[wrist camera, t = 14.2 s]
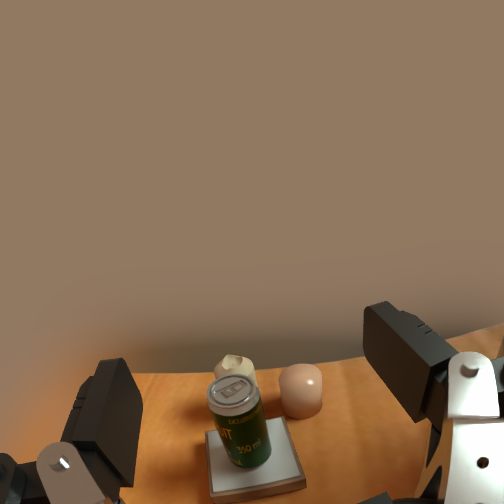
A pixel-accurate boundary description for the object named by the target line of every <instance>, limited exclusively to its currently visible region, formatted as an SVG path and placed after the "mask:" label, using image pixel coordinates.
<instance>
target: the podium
mask: <svg viewBox="0 0 504 504" xmlns="http://www.w3.org/2000/svg"><path fill="white" fill-rule="evenodd" d="M266 424H267V429H268V434H269V438H270V443H271V447H272V451H271V455H270V457H269V459H268V460H267V462H265V463H264V464H263V465H262V466H260V467H258V468H254V469H243V468H240V467H238V466H236V465H234V464H233V463H232V462H231V461H230V459H229V458H228V456H227V453H226V451H225V448H224V446H223V444H222V441H221V439H220V436H219V434H218V431H217V430H211V431H205V442H206V455H207V467H208V478H209V488H210V497H211V499H212V500H213V502H214V503H215V504H228V503H235V502H242V501H248V500H253V499H259V498H264V497H269V496H273V495H278V494H282V493H286V492H291V491H295V490H298V489H302V488H306V478H305V475H304V472H303V469H302V467H301V464H300V461H299V458H298V455H297V452H296V449H295V447H294V444H293V441H292V438H291V435H290V432H289V429H288V426H287V423H286V421H285V418H284V416H281V417H277V418H273V419H268V420H266Z"/></svg>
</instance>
